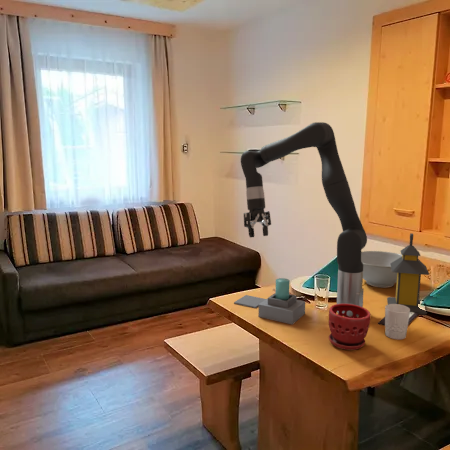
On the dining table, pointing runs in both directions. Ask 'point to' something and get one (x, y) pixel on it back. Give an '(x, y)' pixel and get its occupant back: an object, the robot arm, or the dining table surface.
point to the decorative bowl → (379, 268)
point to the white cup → (396, 321)
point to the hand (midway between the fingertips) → (258, 236)
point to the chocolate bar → (411, 318)
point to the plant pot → (348, 326)
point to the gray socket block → (282, 309)
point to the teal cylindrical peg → (282, 289)
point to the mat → (249, 301)
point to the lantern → (408, 278)
